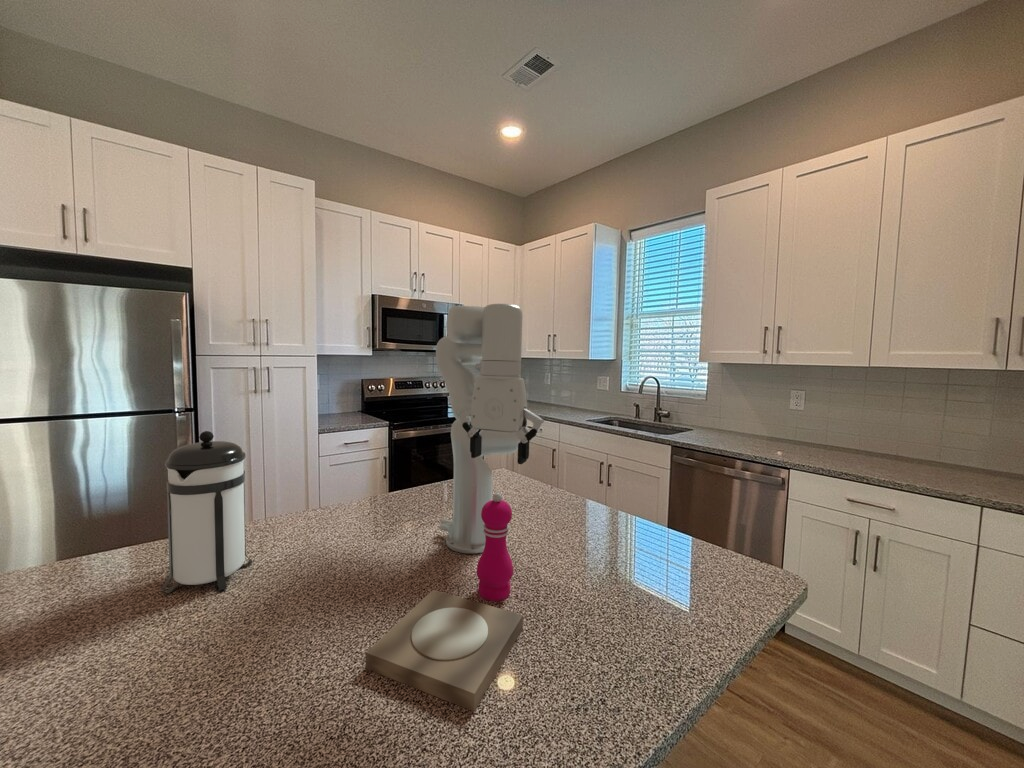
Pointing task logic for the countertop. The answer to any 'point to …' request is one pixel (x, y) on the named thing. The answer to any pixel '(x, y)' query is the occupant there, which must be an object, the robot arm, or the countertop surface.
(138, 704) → the countertop surface
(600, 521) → the countertop surface
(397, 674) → the walnut stand
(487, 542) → the pepper mill
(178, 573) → the coffee press
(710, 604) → the countertop surface
